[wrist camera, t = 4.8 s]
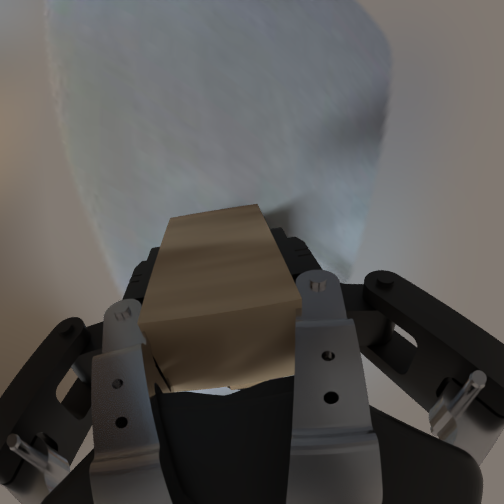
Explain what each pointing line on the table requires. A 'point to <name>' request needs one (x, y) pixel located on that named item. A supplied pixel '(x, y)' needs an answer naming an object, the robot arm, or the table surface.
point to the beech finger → (220, 302)
